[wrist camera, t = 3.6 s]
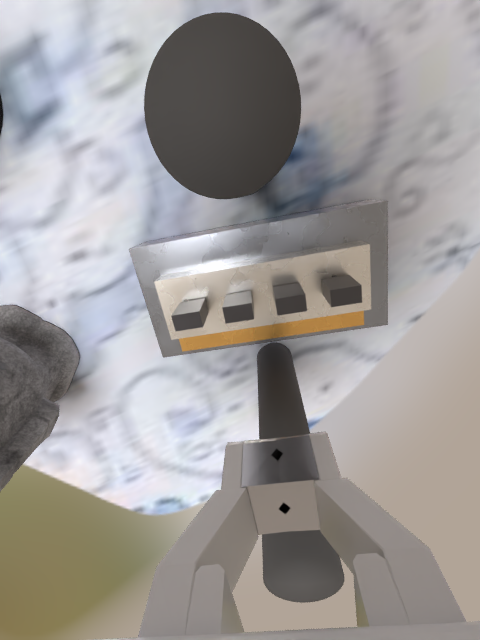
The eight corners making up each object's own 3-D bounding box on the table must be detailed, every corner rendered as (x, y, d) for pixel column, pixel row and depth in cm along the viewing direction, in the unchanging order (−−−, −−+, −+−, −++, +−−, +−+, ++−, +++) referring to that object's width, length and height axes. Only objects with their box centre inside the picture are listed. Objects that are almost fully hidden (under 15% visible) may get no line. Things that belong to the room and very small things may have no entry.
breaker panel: (145, 241, 28) (118, 253, 22) (368, 199, 26) (399, 201, 20) (173, 338, 32) (156, 369, 26) (370, 308, 30) (398, 334, 24)
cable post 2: (254, 345, 32) (257, 557, 13) (289, 340, 31) (341, 551, 13) (260, 374, 33) (269, 604, 15) (293, 370, 33) (346, 600, 14)
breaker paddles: (179, 302, 24) (170, 315, 21) (348, 274, 22) (361, 285, 20) (183, 316, 24) (175, 331, 21) (349, 290, 23) (362, 302, 20)
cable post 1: (218, 152, 25) (123, 36, 7) (262, 143, 25) (290, -9, 6) (227, 199, 26) (167, 211, 8) (268, 191, 26) (308, 183, 7)
